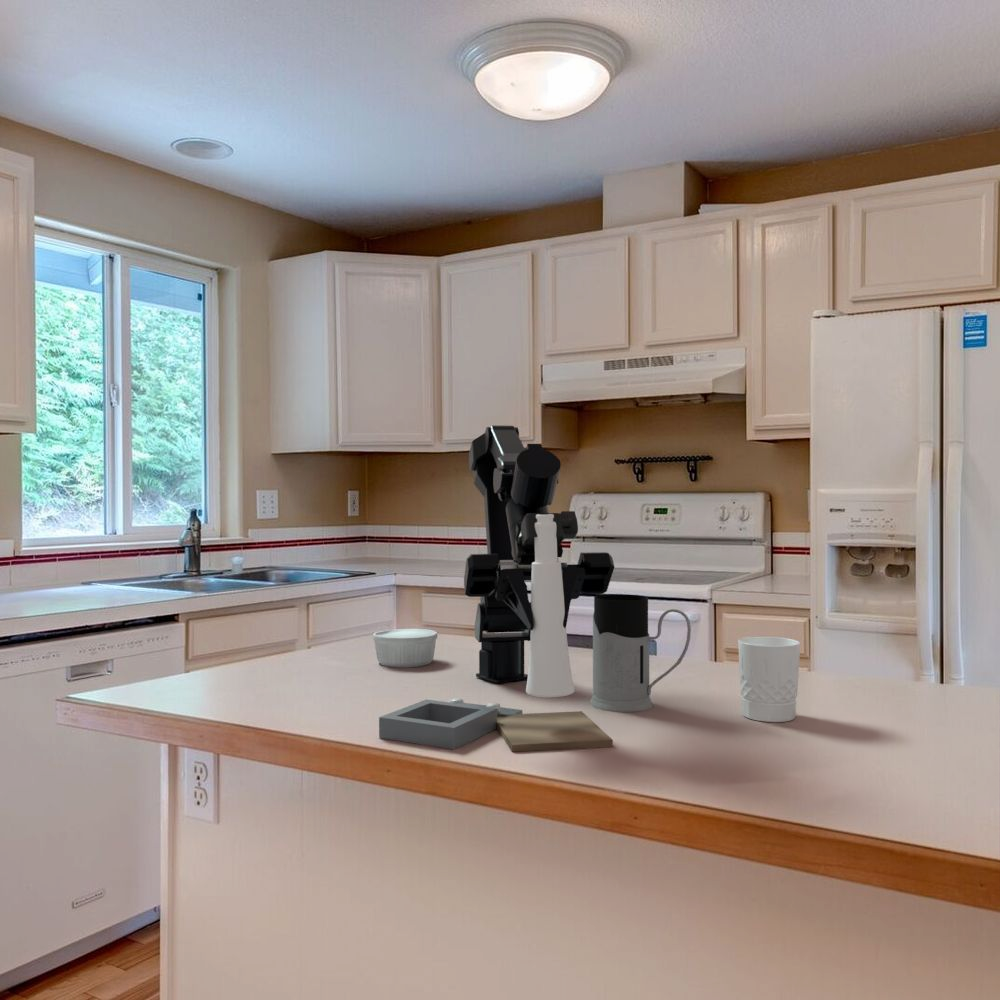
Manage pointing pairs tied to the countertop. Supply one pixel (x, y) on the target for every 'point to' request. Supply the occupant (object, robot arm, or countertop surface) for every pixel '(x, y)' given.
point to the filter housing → (442, 722)
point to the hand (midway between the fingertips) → (548, 627)
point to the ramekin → (405, 647)
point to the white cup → (769, 677)
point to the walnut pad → (551, 731)
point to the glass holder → (624, 652)
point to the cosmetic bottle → (548, 618)
